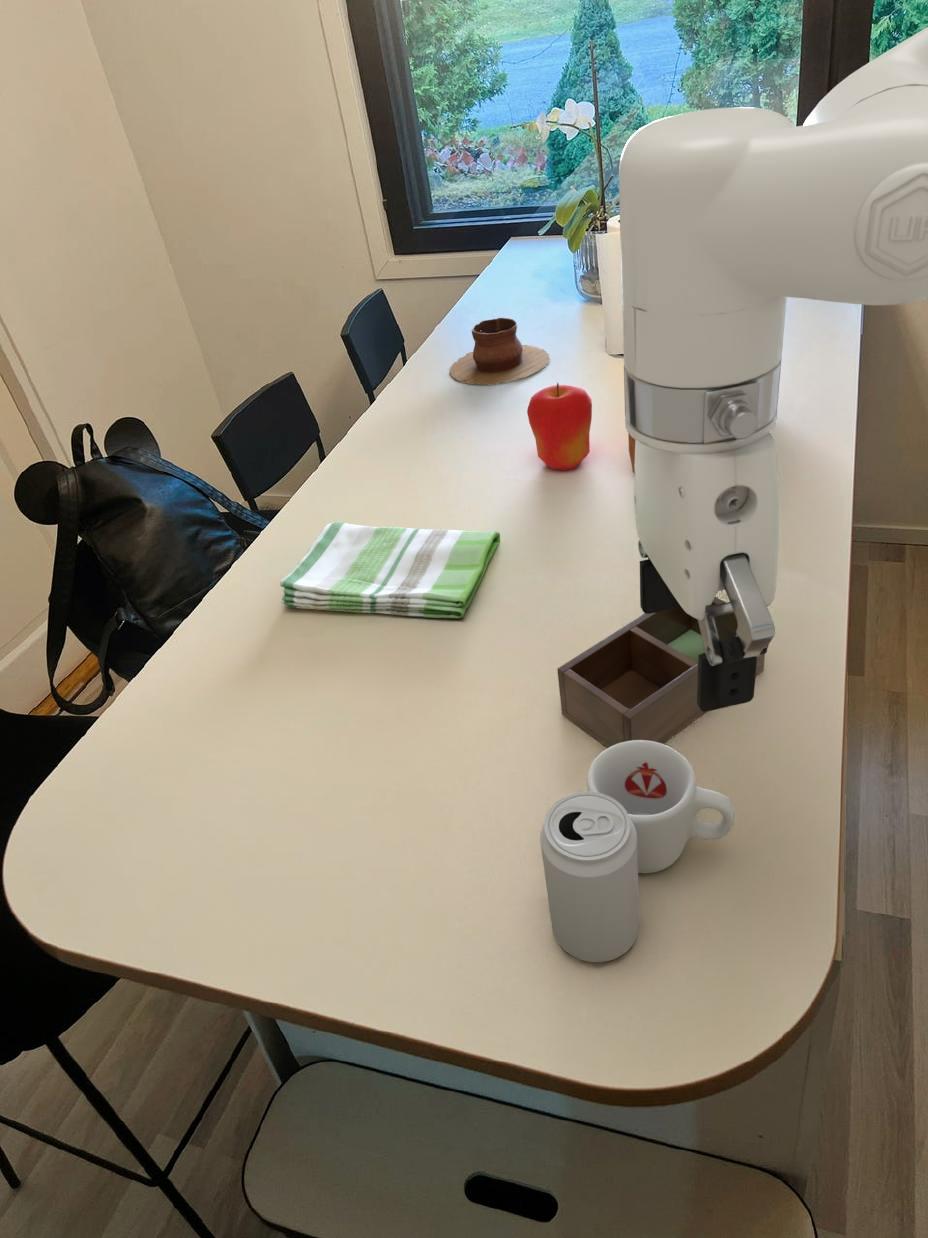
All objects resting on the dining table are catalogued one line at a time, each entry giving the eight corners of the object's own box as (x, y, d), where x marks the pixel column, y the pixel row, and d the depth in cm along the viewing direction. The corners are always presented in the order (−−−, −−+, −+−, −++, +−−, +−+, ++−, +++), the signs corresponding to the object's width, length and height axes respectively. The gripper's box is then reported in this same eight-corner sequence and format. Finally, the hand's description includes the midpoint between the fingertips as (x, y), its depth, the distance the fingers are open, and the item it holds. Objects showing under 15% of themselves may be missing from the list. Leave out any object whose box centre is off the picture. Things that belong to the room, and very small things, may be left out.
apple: (603, 450, 123) (599, 370, 116) (581, 479, 117) (576, 397, 110) (547, 445, 127) (540, 367, 120) (523, 473, 121) (514, 392, 114)
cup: (733, 816, 70) (738, 747, 66) (729, 900, 65) (734, 831, 60) (600, 800, 74) (595, 733, 69) (584, 879, 68) (578, 812, 63)
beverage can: (550, 893, 67) (536, 789, 60) (635, 889, 66) (630, 783, 59) (554, 970, 62) (538, 866, 55) (645, 966, 61) (641, 861, 54)
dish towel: (334, 533, 115) (328, 510, 113) (502, 538, 109) (499, 513, 106) (279, 612, 103) (271, 588, 101) (466, 623, 96) (461, 597, 94)
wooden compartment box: (763, 670, 83) (767, 623, 80) (631, 766, 76) (630, 719, 73) (689, 629, 90) (690, 583, 86) (561, 714, 83) (556, 668, 79)
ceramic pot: (439, 359, 160) (433, 321, 155) (530, 337, 162) (527, 299, 158) (464, 394, 145) (458, 353, 141) (564, 369, 148) (561, 328, 143)
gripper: (862, 452, 37) (818, 734, 48) (704, 325, 51) (697, 565, 61) (694, 487, 37) (687, 764, 47) (580, 350, 51) (594, 588, 61)
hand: (692, 652), depth 54 cm, fingers open, 9 cm apart
